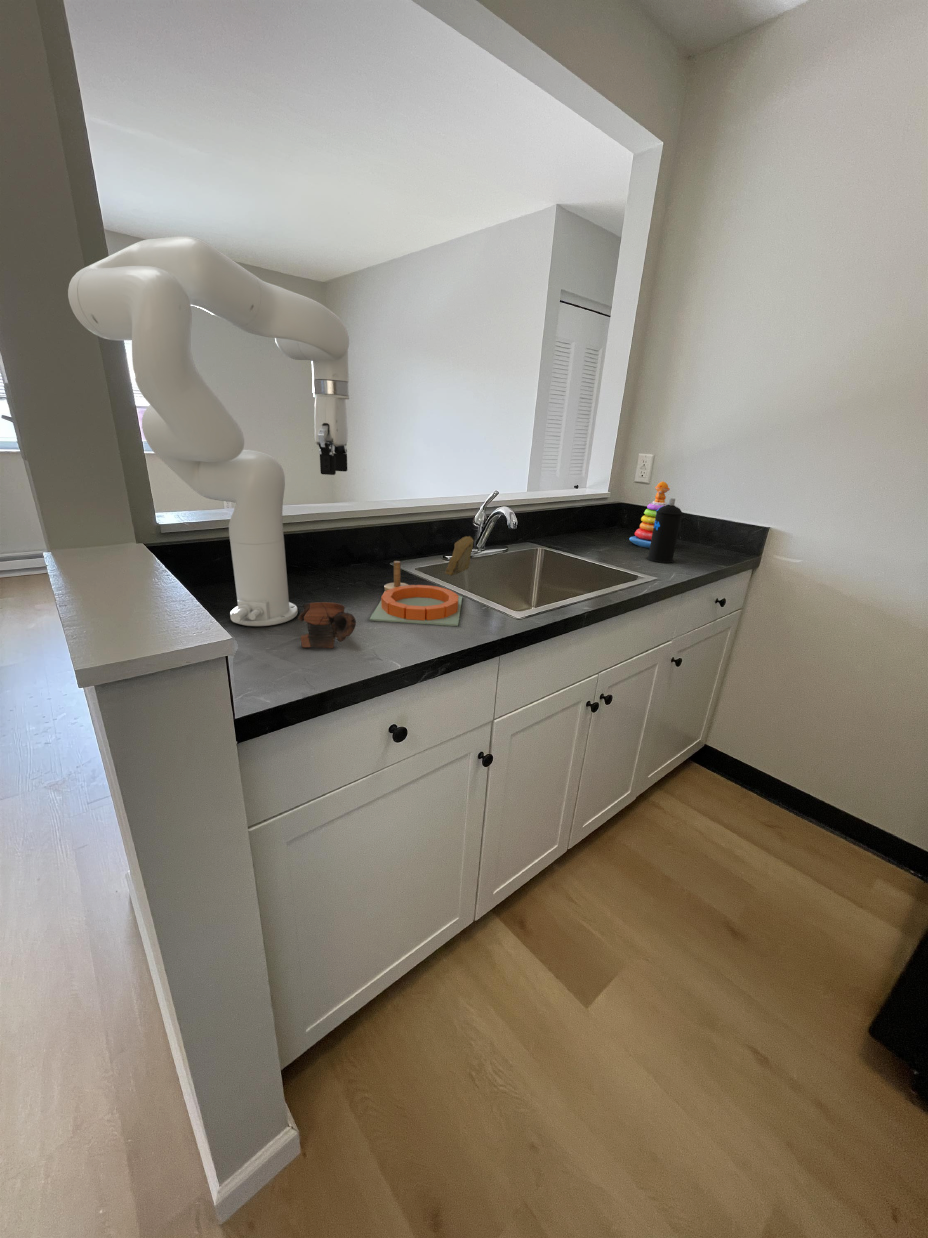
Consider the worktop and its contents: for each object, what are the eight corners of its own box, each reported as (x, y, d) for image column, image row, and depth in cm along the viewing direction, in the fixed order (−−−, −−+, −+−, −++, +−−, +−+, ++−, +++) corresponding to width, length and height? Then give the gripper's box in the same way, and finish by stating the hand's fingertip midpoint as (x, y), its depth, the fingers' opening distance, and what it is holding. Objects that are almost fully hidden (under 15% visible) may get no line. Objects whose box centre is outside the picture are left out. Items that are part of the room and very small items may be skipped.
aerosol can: (675, 560, 165) (688, 498, 158) (670, 564, 158) (683, 501, 151) (650, 555, 169) (661, 495, 162) (644, 560, 162) (655, 497, 155)
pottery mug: (284, 649, 87) (286, 602, 88) (320, 653, 95) (321, 611, 97) (341, 645, 82) (342, 596, 84) (373, 650, 91) (373, 606, 92)
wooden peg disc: (407, 594, 117) (407, 565, 114) (382, 592, 117) (382, 564, 115) (411, 587, 122) (411, 559, 120) (387, 585, 123) (387, 557, 120)
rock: (455, 571, 129) (484, 561, 135) (441, 542, 130) (471, 533, 135) (438, 585, 139) (466, 576, 144) (426, 558, 139) (454, 550, 145)
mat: (458, 626, 100) (458, 624, 100) (369, 620, 100) (369, 618, 100) (462, 597, 117) (462, 596, 116) (386, 593, 117) (386, 591, 117)
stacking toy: (675, 546, 185) (688, 482, 177) (661, 551, 176) (674, 484, 168) (641, 540, 194) (652, 478, 185) (626, 544, 185) (637, 479, 176)
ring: (455, 622, 100) (456, 611, 100) (375, 617, 101) (375, 606, 100) (459, 597, 116) (460, 587, 115) (390, 592, 116) (389, 583, 115)
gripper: (326, 392, 116) (329, 469, 122) (300, 386, 99) (305, 474, 106) (358, 394, 115) (360, 470, 121) (337, 388, 99) (340, 476, 105)
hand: (334, 472), depth 114 cm, fingers open, 9 cm apart
